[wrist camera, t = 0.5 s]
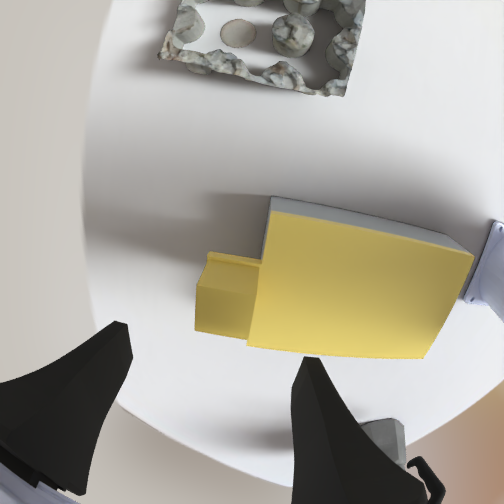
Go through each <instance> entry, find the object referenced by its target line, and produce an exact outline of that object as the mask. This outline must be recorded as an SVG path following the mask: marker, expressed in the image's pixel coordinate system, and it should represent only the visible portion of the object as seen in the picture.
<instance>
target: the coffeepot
mask: <svg viewBox="0 0 504 504" xmlns="http://www.w3.org/2000/svg"><path fill="white" fill-rule="evenodd" d="M360 427H361V428H362V429H363V430H364V432H365V433H366V434H367V435H368V436H369V437H370V439H371V440H372V441H373V442H374V443H375V444H376V445H377V446H378V447H379V448H380V449H381V450H382V451H383V452H384V453H385V454H386V455H387V456H388V457H389V458H390V459H391V460H392V461H394V462H395V463H396V464H397V465H399V466H400V467H401V468H402V469H403V470H405V467H404V465H405V463H406V448H405V434H404V425H403V424H401V423H400V422H399V421H398V420H396V419H382V420H377V421H373V422H369V423H367V424H364V425H362V426H360ZM413 466H416V467H417V469H418V473H419V476H420V477H421V478H422V479H423V480H424V482H425V484H426V487H427V489H428V491H429V492H430V493H431V497H430V499H429V500H428V503H427V504H441V502H442V500H443V498H444V496H445V492H446V490H445V487H444V485H443V484H442V483H441V482H440V480H439V479H438V478H437V476H436V475H435V474H434V473H433V471H432V470H431V468H430V467H429V466H428V464H427V463H426V462H425V460H424V459H423V458H422V457H421V456H418V457H415V458H413V459H412V460H410V461H409V462H408V463H407V468H408V469H409V468H410V467H413Z"/></svg>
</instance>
